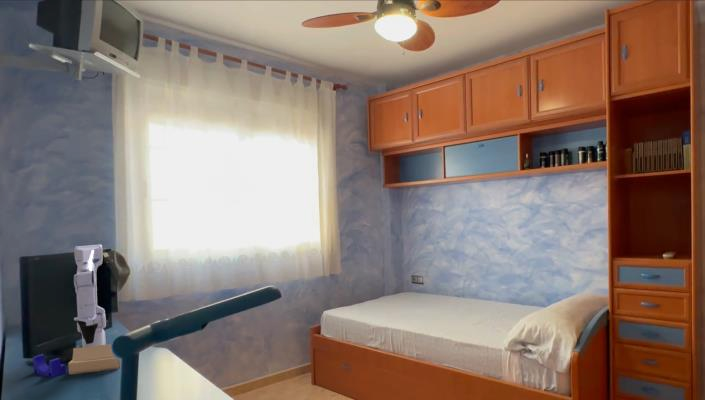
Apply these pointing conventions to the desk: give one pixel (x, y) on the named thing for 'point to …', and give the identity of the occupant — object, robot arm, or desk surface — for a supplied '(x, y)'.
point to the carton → (93, 365)
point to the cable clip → (45, 370)
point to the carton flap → (92, 352)
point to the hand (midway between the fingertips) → (88, 340)
